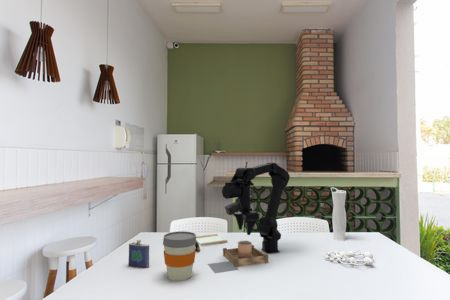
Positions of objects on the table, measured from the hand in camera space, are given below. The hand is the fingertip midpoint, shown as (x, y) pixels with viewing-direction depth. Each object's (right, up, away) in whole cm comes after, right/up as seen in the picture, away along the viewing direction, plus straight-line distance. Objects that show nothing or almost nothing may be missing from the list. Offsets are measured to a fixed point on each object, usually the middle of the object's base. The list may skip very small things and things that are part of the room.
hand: (244, 232), depth 126 cm
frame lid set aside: (-17, -13, +28) cm, 34 cm away
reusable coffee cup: (-26, -12, -17) cm, 33 cm away
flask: (-44, -12, -8) cm, 46 cm away
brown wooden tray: (0, -12, 0) cm, 12 cm away
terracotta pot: (0, -12, 0) cm, 12 cm away
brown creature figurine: (-25, -12, +11) cm, 30 cm away
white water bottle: (+54, -13, +31) cm, 63 cm away
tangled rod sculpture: (+45, -12, -3) cm, 47 cm away
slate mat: (-9, -12, -9) cm, 18 cm away
